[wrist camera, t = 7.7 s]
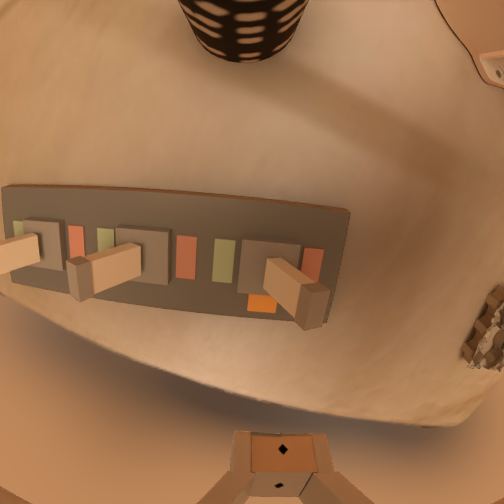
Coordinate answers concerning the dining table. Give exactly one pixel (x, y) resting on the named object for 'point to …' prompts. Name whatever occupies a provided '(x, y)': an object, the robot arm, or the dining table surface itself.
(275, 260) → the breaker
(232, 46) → the white-spotted black cylinder
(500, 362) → the egg carton
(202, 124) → the dining table surface
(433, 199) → the dining table surface
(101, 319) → the dining table surface
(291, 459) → the robot arm
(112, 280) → the breaker mid
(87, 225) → the breaker panel
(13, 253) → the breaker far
